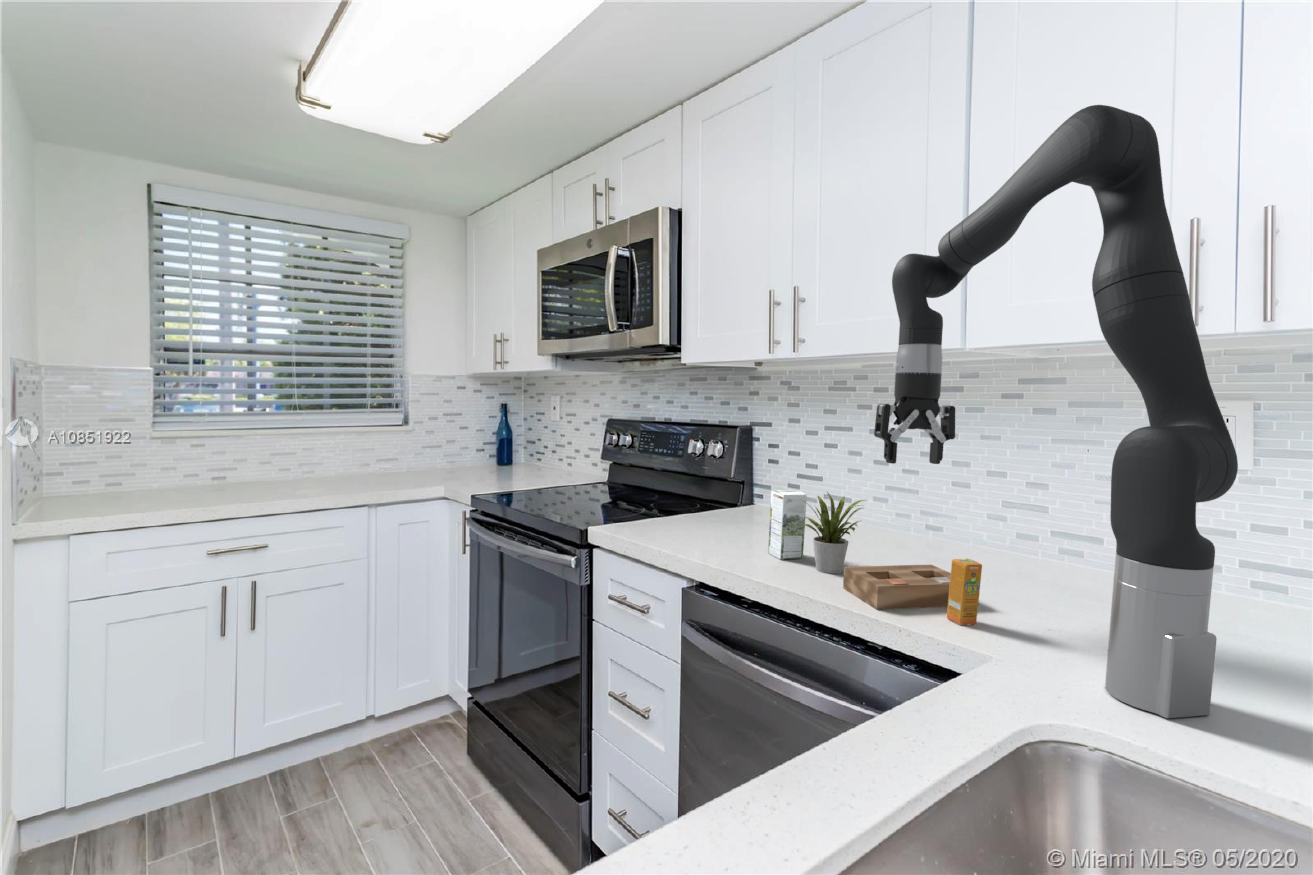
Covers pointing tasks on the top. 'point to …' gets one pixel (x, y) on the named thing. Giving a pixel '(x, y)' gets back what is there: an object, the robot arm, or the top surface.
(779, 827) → the top surface
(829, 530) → the house plant
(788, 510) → the syrup box
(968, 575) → the supplement box
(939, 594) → the socket board
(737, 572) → the top surface
